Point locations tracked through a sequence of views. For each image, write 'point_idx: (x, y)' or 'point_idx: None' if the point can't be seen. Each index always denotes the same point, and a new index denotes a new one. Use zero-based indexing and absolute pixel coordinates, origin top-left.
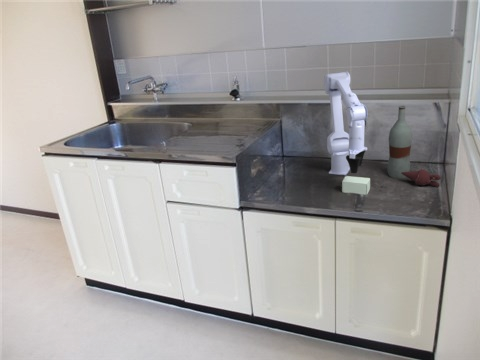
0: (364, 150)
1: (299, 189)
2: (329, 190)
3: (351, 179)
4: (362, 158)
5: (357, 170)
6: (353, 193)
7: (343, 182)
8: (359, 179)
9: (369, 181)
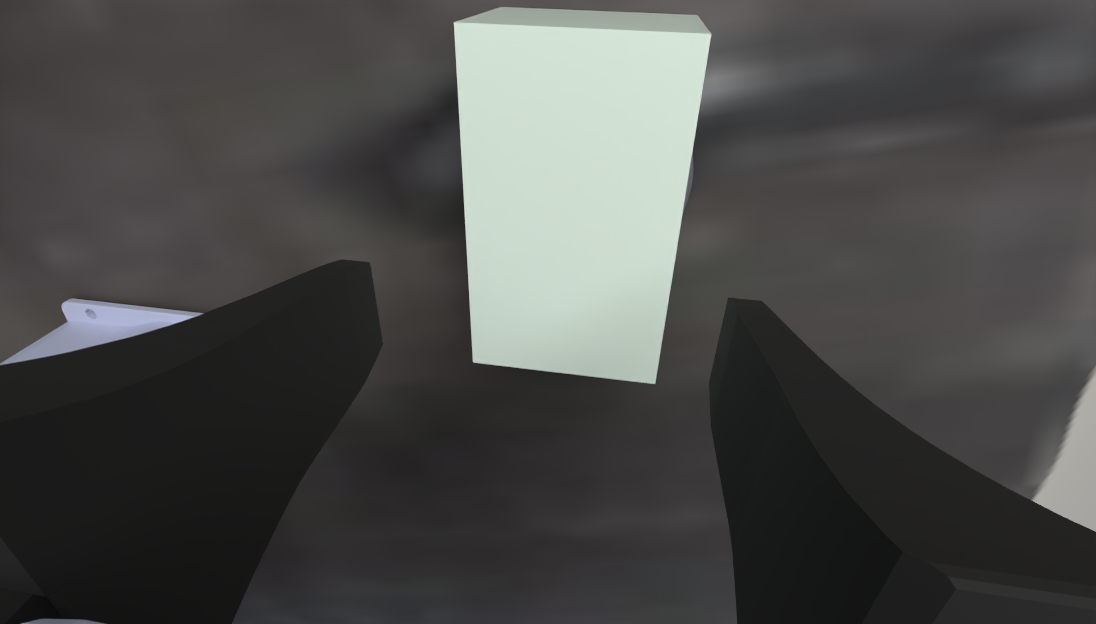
0: (6, 468)
1: (648, 586)
2: (630, 410)
3: (570, 290)
4: (258, 327)
5: (749, 316)
6: (686, 191)
7: (657, 363)
8: (547, 186)
9: (521, 21)
